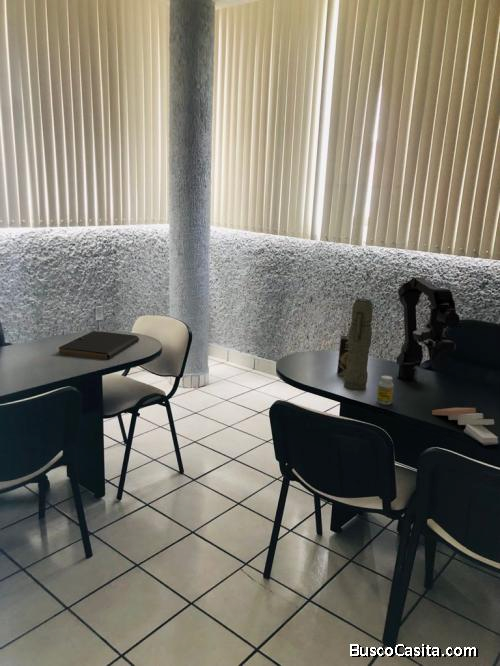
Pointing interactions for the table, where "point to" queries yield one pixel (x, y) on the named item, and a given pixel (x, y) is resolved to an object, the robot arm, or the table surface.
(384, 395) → the supplement bottle
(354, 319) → the thermos
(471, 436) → the domino
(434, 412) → the domino
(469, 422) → the domino
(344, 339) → the coffee box
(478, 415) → the domino
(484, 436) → the domino
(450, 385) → the table surface
